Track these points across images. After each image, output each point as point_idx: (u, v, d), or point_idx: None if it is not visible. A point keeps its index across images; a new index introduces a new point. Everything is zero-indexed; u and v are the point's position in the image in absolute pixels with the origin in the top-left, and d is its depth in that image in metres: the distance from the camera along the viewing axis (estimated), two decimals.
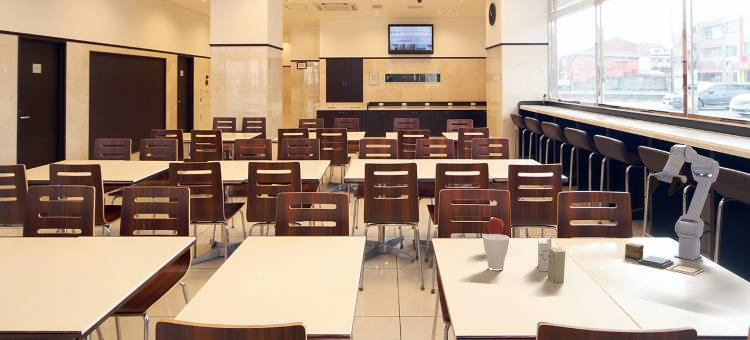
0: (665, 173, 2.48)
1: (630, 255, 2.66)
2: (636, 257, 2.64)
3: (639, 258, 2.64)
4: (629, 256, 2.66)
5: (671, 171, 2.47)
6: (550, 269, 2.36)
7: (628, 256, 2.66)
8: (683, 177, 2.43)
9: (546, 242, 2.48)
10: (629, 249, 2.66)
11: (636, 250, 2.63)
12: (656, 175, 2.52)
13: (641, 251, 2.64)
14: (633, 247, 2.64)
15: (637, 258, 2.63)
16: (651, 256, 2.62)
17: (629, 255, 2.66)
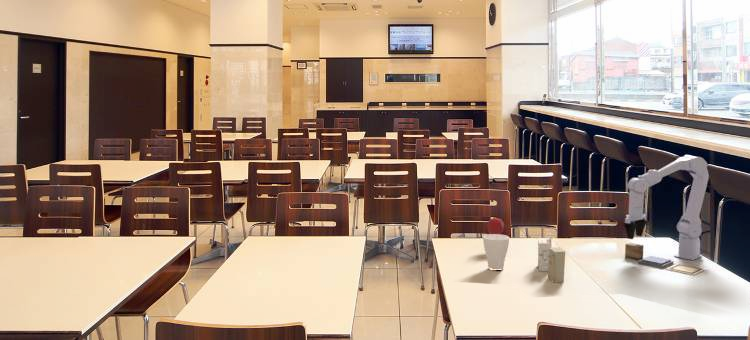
0: None
1: (630, 255, 2.66)
2: (636, 257, 2.64)
3: (639, 258, 2.64)
4: (629, 256, 2.66)
5: None
6: (550, 269, 2.36)
7: (628, 256, 2.66)
8: None
9: (546, 242, 2.48)
10: (629, 249, 2.66)
11: (636, 250, 2.63)
12: None
13: (641, 251, 2.64)
14: (633, 247, 2.64)
15: (637, 258, 2.63)
16: (651, 256, 2.62)
17: (629, 255, 2.66)
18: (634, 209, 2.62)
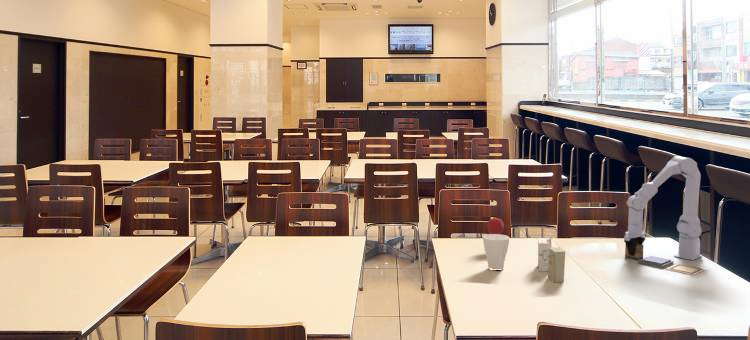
0: None
1: (630, 255, 2.66)
2: (636, 257, 2.64)
3: (639, 258, 2.64)
4: (629, 256, 2.66)
5: (628, 231, 2.66)
6: (550, 269, 2.36)
7: (628, 256, 2.66)
8: None
9: (546, 242, 2.48)
10: None
11: (636, 250, 2.63)
12: None
13: (641, 251, 2.64)
14: None
15: (637, 258, 2.63)
16: (651, 256, 2.62)
17: (629, 255, 2.66)
18: (633, 226, 2.63)
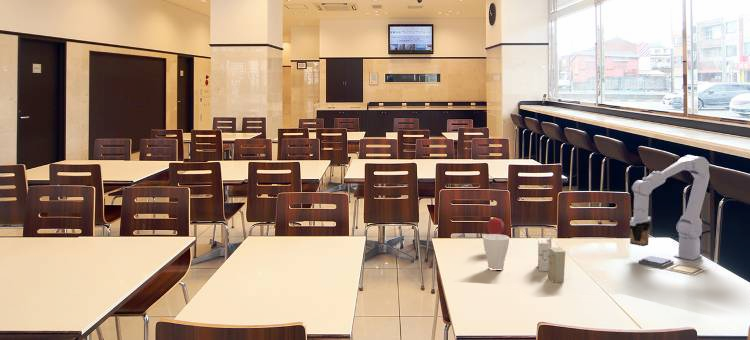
0: None
1: (635, 241, 2.63)
2: (641, 243, 2.61)
3: (644, 244, 2.61)
4: (634, 242, 2.63)
5: (633, 216, 2.63)
6: (550, 269, 2.36)
7: (633, 242, 2.64)
8: None
9: (546, 242, 2.48)
10: None
11: (641, 236, 2.61)
12: None
13: (646, 237, 2.61)
14: None
15: (642, 244, 2.61)
16: (651, 256, 2.62)
17: (634, 241, 2.63)
18: (639, 211, 2.60)
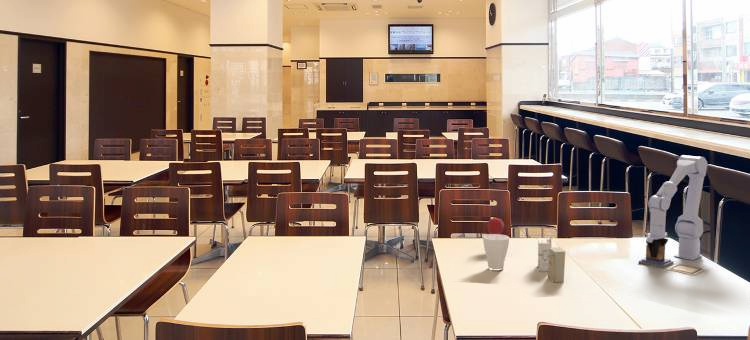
0: None
1: None
2: (658, 258, 2.55)
3: (661, 259, 2.55)
4: (650, 257, 2.57)
5: (650, 232, 2.56)
6: (550, 269, 2.36)
7: (649, 257, 2.57)
8: None
9: (546, 242, 2.48)
10: None
11: (658, 251, 2.54)
12: None
13: (662, 252, 2.55)
14: None
15: (659, 259, 2.54)
16: None
17: (650, 256, 2.57)
18: (656, 227, 2.53)
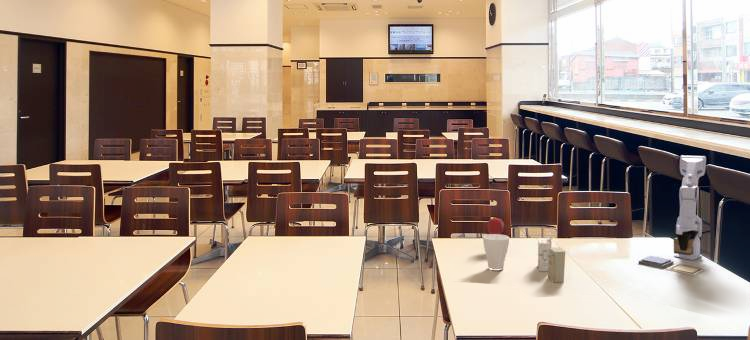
0: None
1: (679, 250, 2.48)
2: (686, 252, 2.46)
3: (690, 253, 2.46)
4: (678, 251, 2.48)
5: (679, 224, 2.47)
6: (550, 269, 2.36)
7: (677, 251, 2.48)
8: None
9: (546, 242, 2.48)
10: (678, 244, 2.48)
11: None
12: None
13: (691, 246, 2.46)
14: None
15: (687, 253, 2.45)
16: (651, 256, 2.62)
17: (678, 250, 2.48)
18: (686, 219, 2.44)
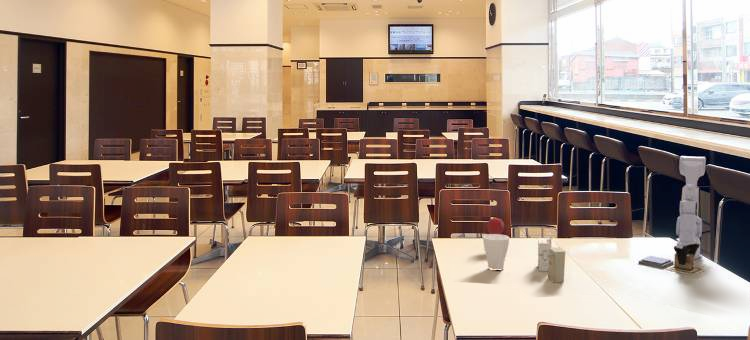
0: None
1: (679, 265, 2.48)
2: (687, 268, 2.46)
3: (690, 269, 2.46)
4: (679, 266, 2.48)
5: (679, 238, 2.47)
6: (550, 269, 2.36)
7: (678, 267, 2.49)
8: None
9: (546, 242, 2.48)
10: None
11: (687, 260, 2.46)
12: None
13: (692, 262, 2.46)
14: None
15: (688, 269, 2.46)
16: (651, 256, 2.62)
17: (679, 265, 2.48)
18: (686, 233, 2.44)
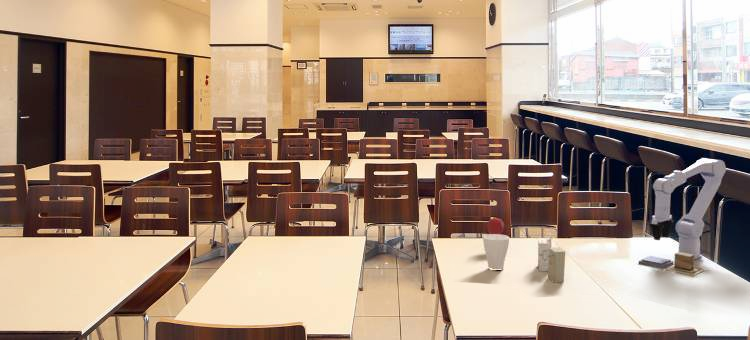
0: None
1: (679, 265, 2.48)
2: (687, 268, 2.46)
3: (690, 269, 2.46)
4: (679, 266, 2.48)
5: (655, 214, 2.61)
6: (550, 269, 2.36)
7: (678, 267, 2.49)
8: None
9: (546, 242, 2.48)
10: (679, 259, 2.48)
11: (687, 260, 2.46)
12: None
13: (692, 262, 2.46)
14: (683, 256, 2.47)
15: (688, 269, 2.46)
16: (651, 256, 2.62)
17: (679, 265, 2.48)
18: (661, 210, 2.58)
